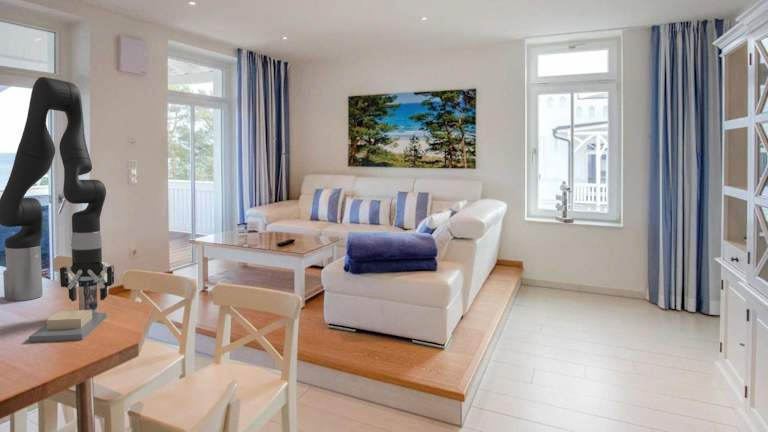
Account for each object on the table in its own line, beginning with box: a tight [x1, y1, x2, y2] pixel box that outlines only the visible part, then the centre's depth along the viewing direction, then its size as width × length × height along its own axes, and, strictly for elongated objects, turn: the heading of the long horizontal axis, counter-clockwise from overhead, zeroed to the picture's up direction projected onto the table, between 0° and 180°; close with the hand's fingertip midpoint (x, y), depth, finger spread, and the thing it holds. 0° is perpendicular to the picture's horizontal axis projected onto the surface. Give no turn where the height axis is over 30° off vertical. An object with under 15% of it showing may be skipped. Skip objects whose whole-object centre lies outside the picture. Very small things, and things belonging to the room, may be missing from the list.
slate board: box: [28, 309, 107, 343], centre depth 127 cm, size 12×18×4 cm, turn 14°
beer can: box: [77, 276, 99, 313], centre depth 139 cm, size 5×5×12 cm
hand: (88, 299), depth 139 cm, fingers open, 7 cm apart
